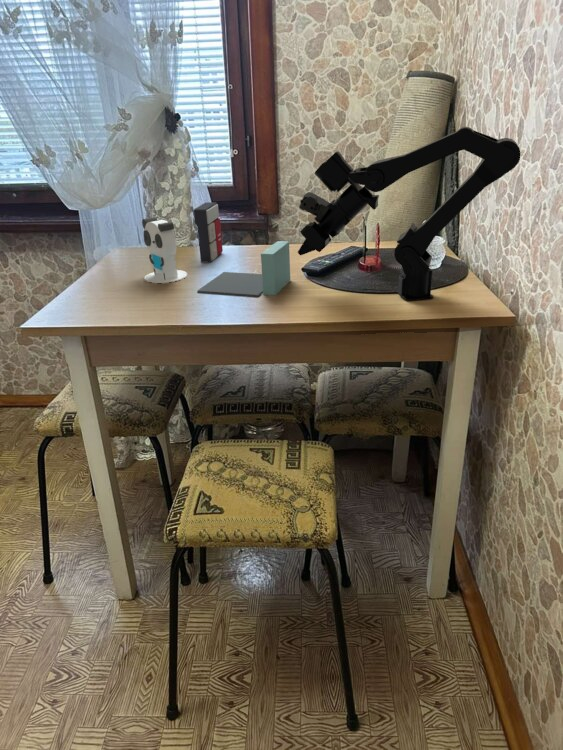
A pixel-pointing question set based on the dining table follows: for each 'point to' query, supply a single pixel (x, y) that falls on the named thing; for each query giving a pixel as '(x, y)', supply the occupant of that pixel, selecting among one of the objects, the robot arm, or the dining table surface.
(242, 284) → the mat
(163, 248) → the panda figurine
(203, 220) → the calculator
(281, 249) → the board
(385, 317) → the dining table surface
